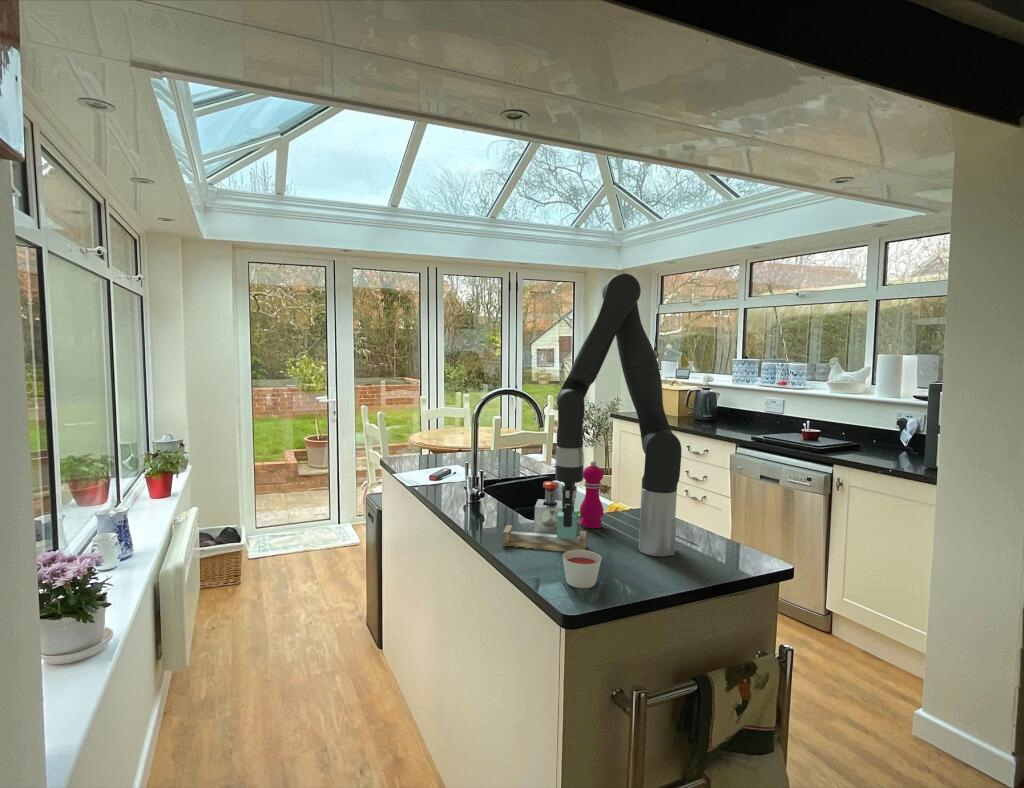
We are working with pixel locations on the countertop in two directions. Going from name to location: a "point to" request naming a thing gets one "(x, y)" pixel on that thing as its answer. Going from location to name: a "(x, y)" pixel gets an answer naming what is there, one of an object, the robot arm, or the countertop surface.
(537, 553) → the countertop surface
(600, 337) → the robot arm
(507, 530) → the rail
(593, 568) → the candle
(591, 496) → the pepper mill
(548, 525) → the gauge cabinet
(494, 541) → the countertop surface
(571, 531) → the teal block
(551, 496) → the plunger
